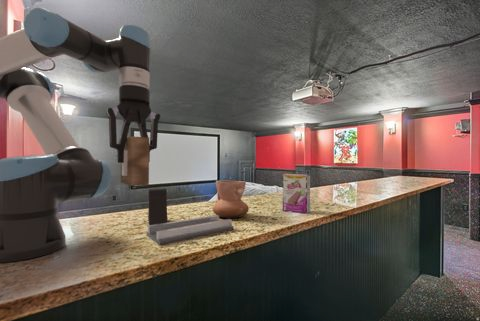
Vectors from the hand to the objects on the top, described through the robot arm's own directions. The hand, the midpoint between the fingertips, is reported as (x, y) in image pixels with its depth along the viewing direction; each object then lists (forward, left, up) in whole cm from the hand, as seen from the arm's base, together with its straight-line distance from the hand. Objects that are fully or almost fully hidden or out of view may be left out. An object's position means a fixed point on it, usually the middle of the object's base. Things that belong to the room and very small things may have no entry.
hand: (133, 175), depth 66 cm
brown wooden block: (0, 0, -2) cm, 2 cm away
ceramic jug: (+40, +12, -18) cm, 46 cm away
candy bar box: (+68, +1, -18) cm, 71 cm away
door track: (+17, 0, -18) cm, 25 cm away
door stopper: (+13, +19, -18) cm, 29 cm away
